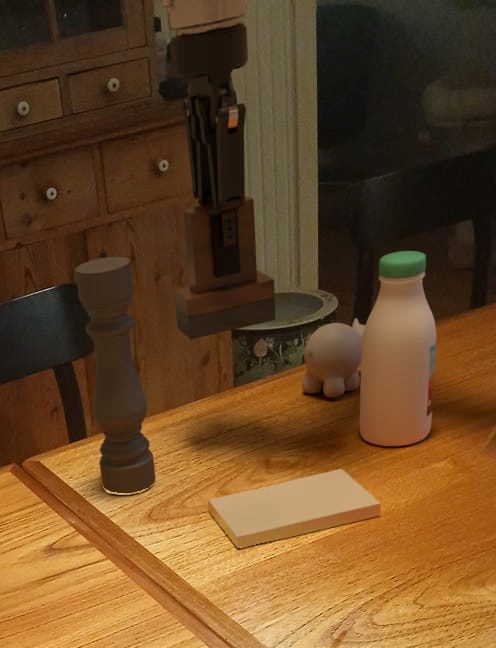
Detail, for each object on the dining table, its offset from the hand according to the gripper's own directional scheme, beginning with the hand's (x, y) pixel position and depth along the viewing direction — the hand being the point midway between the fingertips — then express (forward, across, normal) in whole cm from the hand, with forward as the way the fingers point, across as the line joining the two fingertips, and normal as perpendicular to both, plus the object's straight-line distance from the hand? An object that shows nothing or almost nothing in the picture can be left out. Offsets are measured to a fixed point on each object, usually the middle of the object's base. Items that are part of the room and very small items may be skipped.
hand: (222, 270), depth 110 cm
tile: (+20, +21, -1) cm, 29 cm away
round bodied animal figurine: (+20, -8, +18) cm, 29 cm away
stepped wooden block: (+6, 0, 0) cm, 6 cm away
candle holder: (+20, +6, -15) cm, 26 cm away
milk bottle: (+20, +9, +16) cm, 28 cm away
